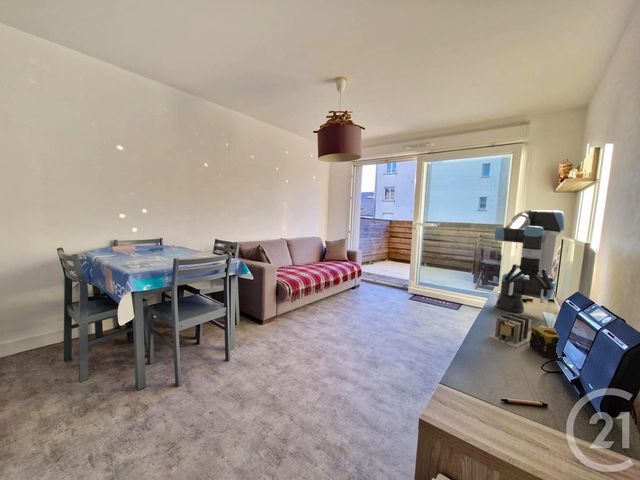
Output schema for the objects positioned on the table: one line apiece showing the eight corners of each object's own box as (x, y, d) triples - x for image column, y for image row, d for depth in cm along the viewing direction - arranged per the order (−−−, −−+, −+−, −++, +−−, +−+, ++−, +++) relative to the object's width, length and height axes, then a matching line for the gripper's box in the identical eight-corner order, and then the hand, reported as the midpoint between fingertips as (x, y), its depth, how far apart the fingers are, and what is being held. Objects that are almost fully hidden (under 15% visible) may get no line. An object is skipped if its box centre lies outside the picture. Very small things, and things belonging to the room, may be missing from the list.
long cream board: (524, 321, 157) (525, 316, 157) (550, 329, 147) (551, 324, 147) (489, 337, 135) (490, 331, 135) (517, 348, 125) (517, 341, 125)
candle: (551, 348, 126) (554, 327, 125) (569, 360, 116) (572, 337, 115) (528, 346, 127) (530, 326, 126) (543, 358, 117) (546, 335, 116)
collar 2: (505, 332, 142) (507, 311, 141) (527, 340, 134) (529, 318, 133) (504, 332, 141) (507, 312, 140) (526, 340, 133) (528, 318, 132)
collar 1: (499, 334, 139) (502, 313, 137) (521, 342, 131) (524, 320, 129) (498, 335, 138) (501, 314, 137) (520, 343, 130) (523, 321, 129)
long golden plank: (520, 324, 145) (521, 316, 144) (530, 327, 141) (531, 319, 140) (499, 333, 133) (500, 324, 132) (510, 337, 129) (511, 328, 128)
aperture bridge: (497, 336, 137) (499, 316, 135) (518, 344, 129) (520, 323, 128) (494, 337, 135) (496, 317, 134) (515, 345, 128) (518, 324, 127)
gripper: (499, 253, 145) (495, 292, 147) (559, 262, 124) (553, 307, 127) (506, 253, 149) (502, 290, 152) (565, 261, 128) (559, 304, 131)
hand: (525, 298), depth 139 cm, fingers open, 13 cm apart
